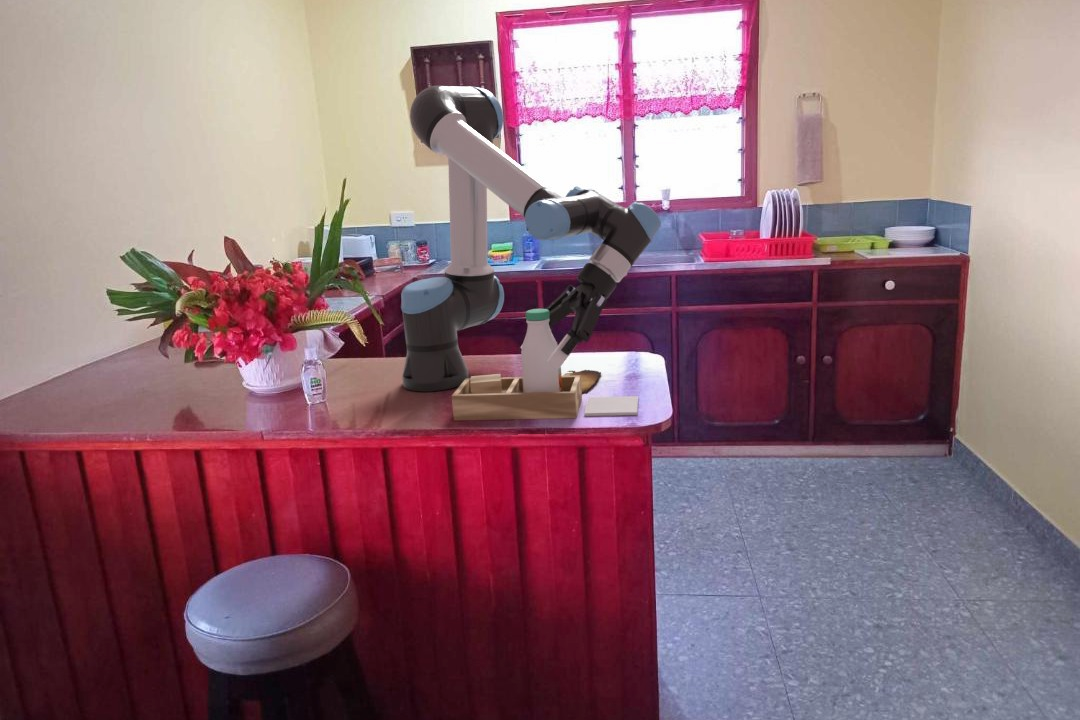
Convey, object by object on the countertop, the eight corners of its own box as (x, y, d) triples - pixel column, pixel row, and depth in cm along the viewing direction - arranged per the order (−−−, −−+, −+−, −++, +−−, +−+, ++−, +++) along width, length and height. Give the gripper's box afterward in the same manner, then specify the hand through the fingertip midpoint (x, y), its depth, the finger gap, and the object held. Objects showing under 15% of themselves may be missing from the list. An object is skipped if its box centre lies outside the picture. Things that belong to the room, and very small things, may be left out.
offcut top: (472, 392, 160) (470, 376, 159) (502, 390, 160) (500, 373, 159) (471, 400, 155) (470, 383, 154) (502, 397, 155) (500, 380, 154)
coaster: (588, 400, 160) (588, 397, 160) (638, 398, 159) (638, 396, 158) (584, 416, 151) (584, 413, 150) (637, 415, 149) (637, 412, 149)
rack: (468, 401, 165) (465, 378, 164) (581, 398, 161) (580, 375, 160) (454, 420, 154) (451, 396, 152) (576, 418, 150) (574, 392, 149)
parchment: (568, 371, 183) (568, 367, 183) (609, 371, 180) (609, 368, 179) (530, 405, 161) (529, 401, 161) (575, 407, 158) (575, 403, 157)
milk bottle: (556, 416, 152) (550, 314, 147) (519, 414, 154) (511, 314, 149) (568, 403, 159) (562, 306, 154) (532, 402, 161) (525, 306, 156)
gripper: (646, 292, 145) (578, 384, 144) (588, 277, 168) (528, 356, 166) (620, 267, 142) (549, 361, 141) (563, 255, 165) (502, 336, 163)
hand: (537, 358), depth 153 cm, fingers open, 13 cm apart
